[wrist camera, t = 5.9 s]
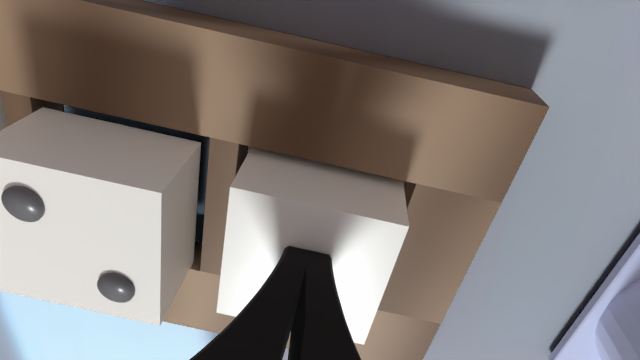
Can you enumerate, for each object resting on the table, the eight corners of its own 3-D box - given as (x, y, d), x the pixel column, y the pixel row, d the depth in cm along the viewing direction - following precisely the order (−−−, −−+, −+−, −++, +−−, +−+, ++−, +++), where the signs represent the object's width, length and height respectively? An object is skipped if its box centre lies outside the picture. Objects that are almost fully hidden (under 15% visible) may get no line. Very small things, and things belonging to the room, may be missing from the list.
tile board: (532, 89, 13) (549, 107, 12) (411, 345, 19) (414, 375, 18) (-262, -92, 13) (-332, -94, 12) (-128, 228, 19) (-164, 250, 18)
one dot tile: (402, 173, 15) (409, 229, 12) (364, 281, 17) (364, 347, 14) (254, 140, 14) (228, 188, 12) (239, 253, 17) (215, 314, 14)
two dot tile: (200, 142, 14) (159, 195, 11) (193, 261, 16) (158, 327, 13) (42, 107, 14) (-38, 151, 11) (60, 232, 16) (-2, 293, 13)
